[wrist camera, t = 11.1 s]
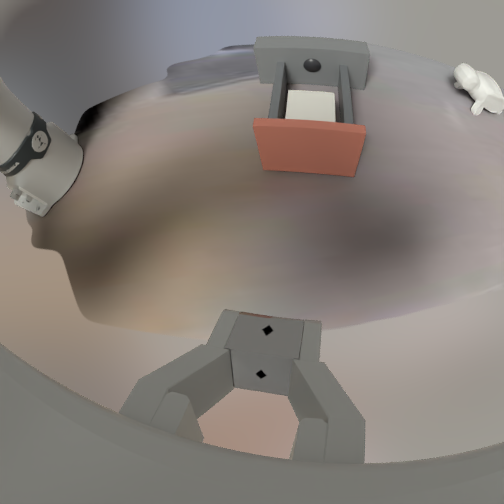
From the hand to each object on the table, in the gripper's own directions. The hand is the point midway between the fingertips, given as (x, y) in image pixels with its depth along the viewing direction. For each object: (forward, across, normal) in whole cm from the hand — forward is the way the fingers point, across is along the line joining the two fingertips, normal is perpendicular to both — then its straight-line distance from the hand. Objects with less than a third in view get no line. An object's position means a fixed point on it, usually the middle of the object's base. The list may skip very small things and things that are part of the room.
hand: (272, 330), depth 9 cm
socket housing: (+41, 0, +7) cm, 41 cm away
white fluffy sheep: (+49, +33, +14) cm, 61 cm away
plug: (+35, 0, +1) cm, 35 cm away
